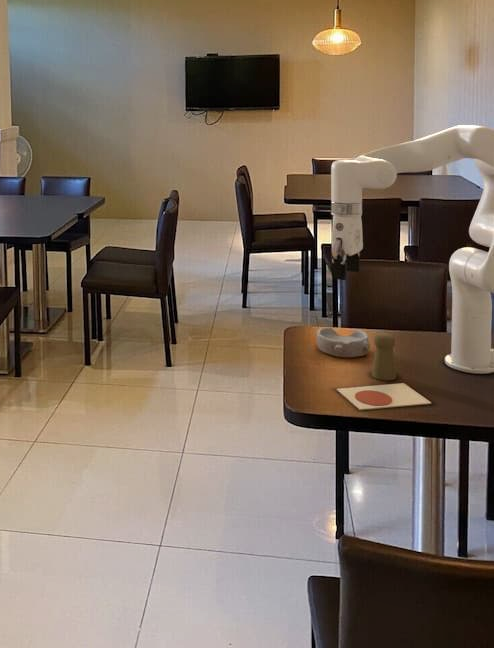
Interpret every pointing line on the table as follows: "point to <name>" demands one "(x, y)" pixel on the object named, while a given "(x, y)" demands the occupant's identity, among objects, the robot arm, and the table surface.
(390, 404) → the placemat
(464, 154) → the robot arm
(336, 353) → the dish
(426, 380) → the table surface
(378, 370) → the cork
